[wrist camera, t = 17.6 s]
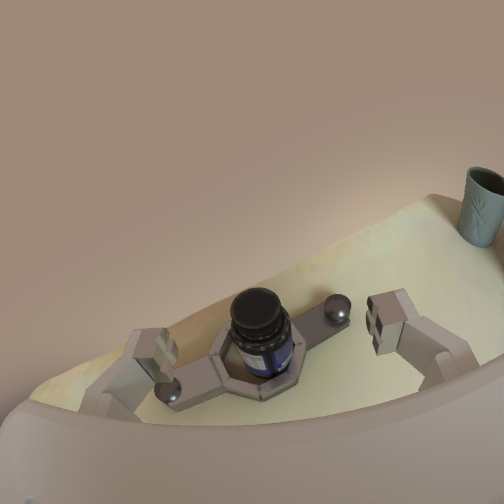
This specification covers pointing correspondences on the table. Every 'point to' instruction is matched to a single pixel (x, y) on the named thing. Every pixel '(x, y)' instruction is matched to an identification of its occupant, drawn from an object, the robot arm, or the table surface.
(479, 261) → the table surface
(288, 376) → the octagon ring handle
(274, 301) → the pill bottle
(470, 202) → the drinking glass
